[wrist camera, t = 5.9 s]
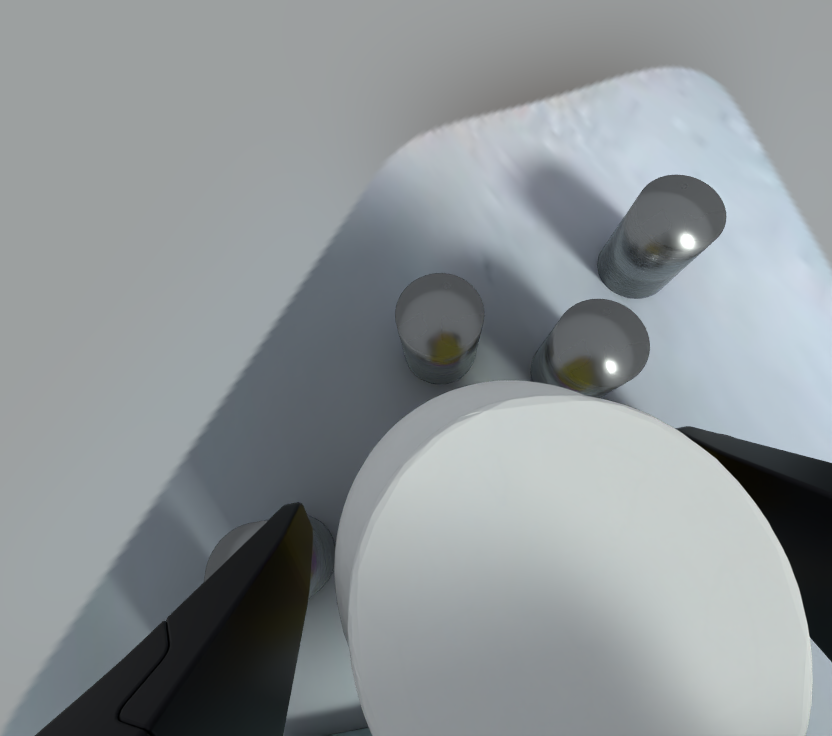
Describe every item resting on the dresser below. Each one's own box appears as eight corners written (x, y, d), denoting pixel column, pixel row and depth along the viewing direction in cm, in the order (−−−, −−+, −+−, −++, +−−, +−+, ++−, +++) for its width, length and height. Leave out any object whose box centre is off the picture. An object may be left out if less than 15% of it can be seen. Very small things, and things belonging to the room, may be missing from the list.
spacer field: (796, 595, 16) (913, 630, 12) (187, 714, 16) (103, 788, 12) (655, 230, 20) (707, 167, 16) (171, 326, 20) (106, 286, 16)
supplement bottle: (417, 414, 18) (365, 250, 6) (579, 459, 17) (934, 382, 5) (368, 585, 16) (145, 877, 4) (544, 643, 16) (941, 1235, 3)
